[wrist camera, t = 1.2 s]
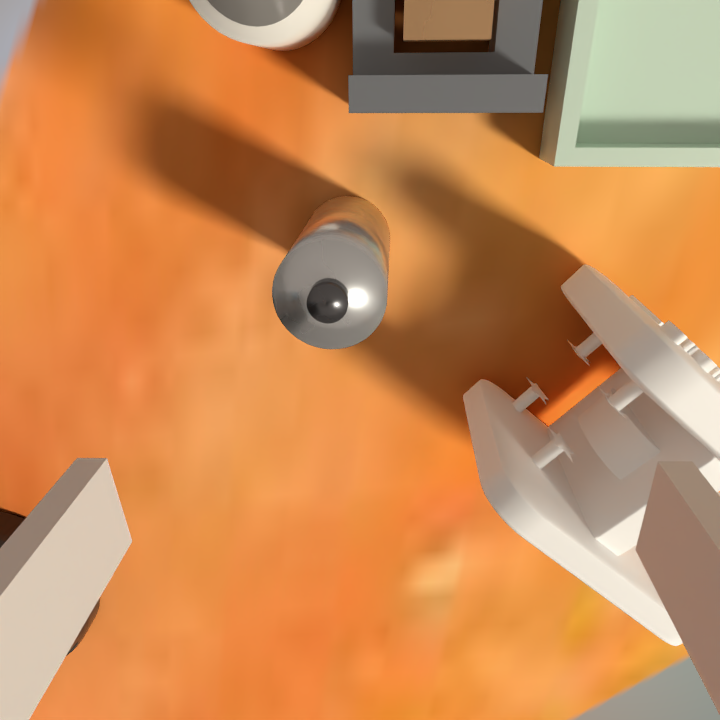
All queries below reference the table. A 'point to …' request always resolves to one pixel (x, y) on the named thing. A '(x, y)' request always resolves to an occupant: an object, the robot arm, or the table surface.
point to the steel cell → (335, 275)
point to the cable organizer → (601, 447)
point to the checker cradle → (447, 66)
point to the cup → (269, 20)
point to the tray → (634, 85)
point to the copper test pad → (447, 20)
